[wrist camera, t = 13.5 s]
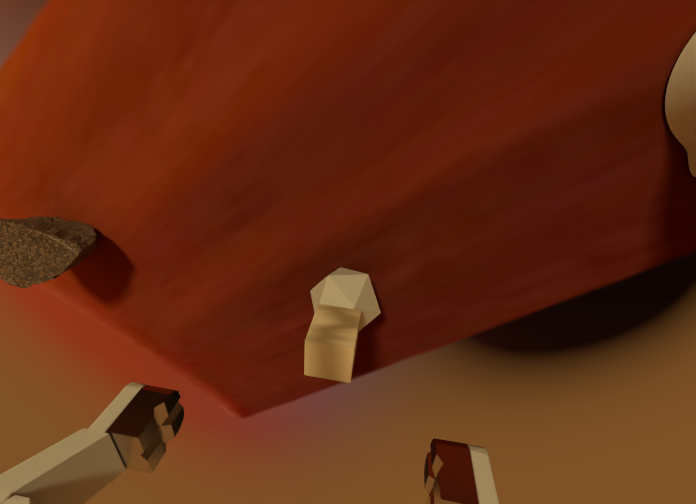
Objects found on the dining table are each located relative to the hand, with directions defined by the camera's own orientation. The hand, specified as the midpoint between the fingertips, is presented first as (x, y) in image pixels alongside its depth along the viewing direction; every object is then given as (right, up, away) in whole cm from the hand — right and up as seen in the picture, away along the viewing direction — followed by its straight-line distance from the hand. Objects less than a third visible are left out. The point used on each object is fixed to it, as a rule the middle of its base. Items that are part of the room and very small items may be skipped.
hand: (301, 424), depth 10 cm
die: (+2, +1, +35) cm, 36 cm away
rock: (-38, +9, +38) cm, 54 cm away
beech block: (0, -3, +29) cm, 29 cm away
